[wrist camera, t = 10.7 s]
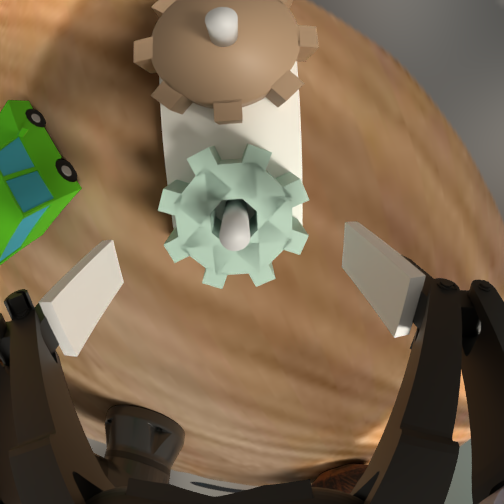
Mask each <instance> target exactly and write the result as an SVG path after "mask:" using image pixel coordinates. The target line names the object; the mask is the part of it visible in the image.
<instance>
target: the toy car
mask: <svg viewBox="0 0 504 504" xmlns="http://www.w3.org/2000/svg"><path fill="white" fill-rule="evenodd" d="M45 124H46V122H45V119H44V117H43V116H42V114H41V113H40V112H38V111H37V110H34V109H33V108H32V106H31V104H30V102H29V101H21V100H8V101H7V103H6V104H5V106H4V107H3V109H2V110H1V112H0V265H1V264H2V263H4V262H5V261H6V260H8V259H9V258H10V257H12V256H13V255H14V254H16V253H17V252H18V251H20V250H21V249H22V248H24V247H25V246H27V245H28V244H30V243H31V242H32V241H34V240H35V239H37V238H38V237H40V236H41V235H43V233H44V232H45V231H46V230H47V228H48V227H49V226H50V225H51V223H52V222H53V221H54V220H55V218H56V217H57V216H58V215H59V213H60V212H61V211H62V210H63V209H64V208H65V206H66V205H67V204H68V203H69V202H70V201H71V200H72V198H73V197H74V196H75V195H76V194H77V193H78V192H79V191H80V190H81V189H82V188H81V186H80V185H79V183H78V182H77V181H76V180H77V173H76V171H75V169H74V168H73V166H72V165H71V164H70V163H69V162H67V161H65V160H61V158H62V157H61V155H60V153H59V152H58V150H57V148H56V147H55V145H54V143H53V142H52V140H51V138H50V136H49V135H48V133H47V131H46V129H45V128H44V127H45ZM75 181H76V182H75Z"/></svg>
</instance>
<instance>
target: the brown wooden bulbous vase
mask: <svg viewBox="0 0 504 504" xmlns="http://www.w3.org/2000/svg"><path fill="white" fill-rule="evenodd" d="M367 467H368V465H363V464H348V465H344V466H341V467H338V468H335V469H332V470H329V471H326V472H324V473H322V474H320V475H319V476H318V478H317V479H316V480H315V481H314V482H313V483H312V484H311V487H320V488H328V489H333V490H338V491H342V492H345V493H348V494H350V493H351V492H352V490H353V488H354V487H355V485H356V484H357V482H358V481H359V479H360V478H361V477H362V475H363V474H364V472H365V470H366V468H367Z"/></svg>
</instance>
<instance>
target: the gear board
mask: <svg viewBox="0 0 504 504" xmlns="http://www.w3.org/2000/svg"><path fill="white" fill-rule="evenodd" d="M292 2H293V0H158V1H157V2H156V3H155V4H154V5H153V6H152V7H151V8H152V9H153V10H154V12H155V13H156V14H157V16H158V17H159V20H158V21H157V23H156V25H155V27H154V30H153V32H152V36H151V37H148V38H144V39H141V40H137V41H134V63H135V64H137V65H138V66H140V67H141V68H143V69H145V70H146V71H148V72H149V73H151V74H152V73H156V72H157V73H158V75H159V86H158V87H157V89H156V90H155V91H154V92H153V93H152V95H151V96H152V97H153V98H154V99H156V100H157V101H158V102H160V107H161V123H162V136H163V147H164V158H165V167H166V176H167V185H169V184H171V183H172V182H173V181H175V180H180V181H183V182H187V183H190V182H191V181H192V180H193V179H194V177H195V176H196V175H195V173H194V172H193V170H192V168H191V166H190V164H189V162H188V160H187V158H189V157H191V156H193V155H195V154H197V153H199V152H200V151H202V150H204V149H206V148H208V147H211V146H215V148H216V150H217V152H218V154H219V156H220V158H221V160H227V159H241V158H242V156H243V153H244V150H245V148H246V145H247V143H248V144H251V145H254V146H256V147H259V148H262V149H265V150H268V151H270V152H272V154H271V157H270V160H269V162H268V165H267V168H266V170H267V171H268V172H269V173H270V174H271V175H272V176H274V177H275V178H276V177H279V176H281V175H283V174H285V173H288V172H291V173H293V174H294V175H295V176H297V177H298V178H300V179H301V181H302V147H301V120H300V100H299V89H300V88H301V87H302V86H303V85H304V84H305V83H303V82H302V81H301V80H300V79H299V78H298V70H297V61H299V62H306V61H307V60H308V59H309V57H310V56H311V55H312V54H313V53H314V52H315V51H316V50H317V49H318V48H319V45H318V36H317V28H316V27H315V26H305V25H298V24H297V21H296V19H295V18H294V16H293V14H292V12H291V11H290V10H289V9H290V7H291V4H292ZM215 210H216V217H217V218H219V219H220V220H221V221H222V223H221V228H220V233H219V240H220V242H221V244H222V246H223V247H224V248H226V249H228V250H230V251H239V250H242V249H244V248H245V247H246V246H247V245H248V244H249V241H250V228H249V220H250V218H251V217H252V216H253V215H254V214H255V210H254V208H252V207H251V206H250V205H249V204H248V203H247V202H245V201H244V200H243V199H231V200H222V201H221V202H220V203H219V204H218V206H217V207H216V208H215ZM292 217H294V218H297V219H298V220H299V222H300V223H301V225H302V204H299V205H297V206H295V207H293V208H292ZM172 222H173V228H175V227H176V226H177V225H176V218H175V216H174V215H172Z"/></svg>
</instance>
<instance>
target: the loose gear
mask: <svg viewBox="0 0 504 504" xmlns="http://www.w3.org/2000/svg"><path fill="white" fill-rule="evenodd" d="M271 154H272V152H270V151H268V150H265V149H262V148H259V147H256V146H254V145H251V144H248V143H247V145H246V148H245V150H244V153H243V156H242V158H241V159H227V160H221V158H220V156H219V154H218V152H217V150H216V148H215V146H211V147H208V148H206V149H204V150H202V151H200V152H199V153H197V154H195V155H193V156H191V157H189V158H187V160H188V162H189V164H190V166H191V168H192V170H193V172H194V173H195V175H196V176H195V177H194V179H193V180H192V181H191V182H190V183H187V182H183V181H180V180H175V181H173V182H172V183H171V184H169V185H168V186H166V187H165V188H164V189H163V192H162V196H161V200H160V204H159V208H158V211H161V212H165V213H168V214H171V215H174V216H175V218H176V225H177V226H176V227H175V228H174V230H173V231H172V233H171V234H170V236H169V237H168V239H167V240H166V242H165V244H164V246H165V248H166V250H167V251H168V253H169V254H170V256H171V258H172V259H173V261H174V262H175V263H176V262H178V261H180V260H182V259H184V258H186V257H188V256H191V257H192V258H193V259H195V260H196V261H197V262H199V263H200V264H201V265H203V266H204V267H205V268H206V269H205V273H204V277H203V282H202V283H204V284H207V285H211V286H214V287H217V288H221V289H223V286H224V283H225V280H226V277H227V275H231V274H247V273H249V275H250V277H251V278H252V280H253V282H254V284H255V286H256V287H257V286H259V285H262V284H264V283H266V282H269V281H271V280H273V279H275V274H274V270H273V266H272V261H273V260H274V259H275V258H276V257H277V256H278V255H279V254H280V253H281V252H282V251H283V250H286V251H289V252H293V253H296V254H299V255H300V254H301V251H302V249H303V247H304V245H305V243H306V240H307V238H308V236H309V235H308V234H307V232H306V231H305V229H304V228H303V226H302V225H301V223H300V222H299V220H298V219H297V218H294V217H292V208H293V207H295V206H297V205H299V204H302V203H304V202H306V201H308V200H309V198H308V196H307V193H306V191H305V189H304V186H303V184H302V181H301V179H300V178H298V177H297V176H295V175H294V174H293V173H291V172H288V173H285V174H283V175H281V176H279V177H276V178H275V177H274V176H272V175H271V174H270V173H269V172H268V171H267V170H266V168H267V165H268V162H269V160H270V157H271ZM231 199H243V200H244V201H245V202H247V203H248V204H249V205H250V206H251V207H252V208H254V210H255V214H254V215H253V216H252V217H251V218H250V220H249V228H250V241H249V244H248V245H247V246H246V247H245V248H244V249H242V250H239V251H230V250H228V249H226V248H224V247H223V246H222V244H221V242H220V240H219V233H220V228H221V223H222V221H221V220H220V219H219V218H217V217H216V210H215V208H216V207H217V206H218V204H219V203H220V202H221V201H222V200H231Z"/></svg>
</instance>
